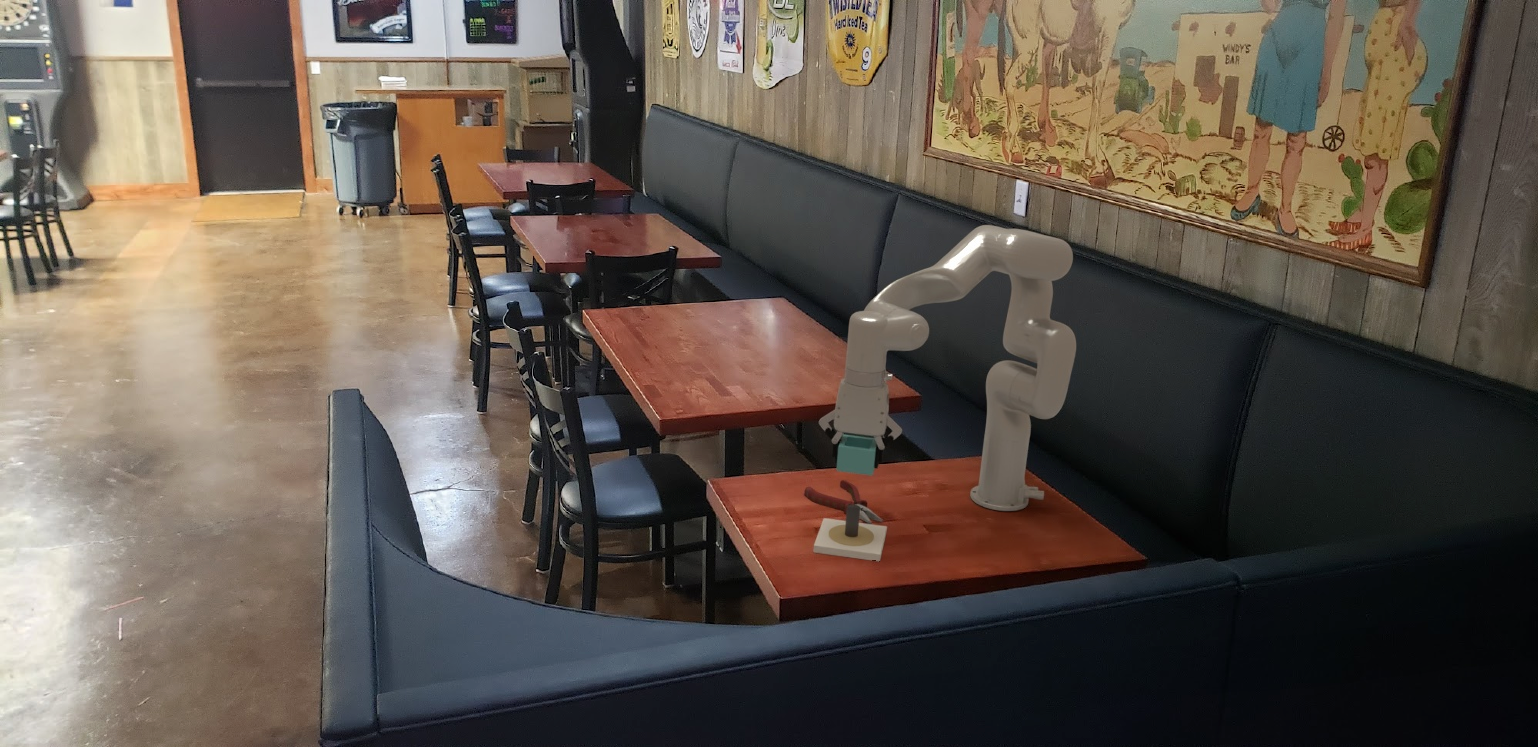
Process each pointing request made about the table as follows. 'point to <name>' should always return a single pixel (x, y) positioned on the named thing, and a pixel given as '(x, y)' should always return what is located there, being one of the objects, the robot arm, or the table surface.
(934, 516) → the table surface
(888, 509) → the table surface
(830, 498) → the pliers
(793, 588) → the table surface
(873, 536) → the post stand
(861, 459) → the collar
